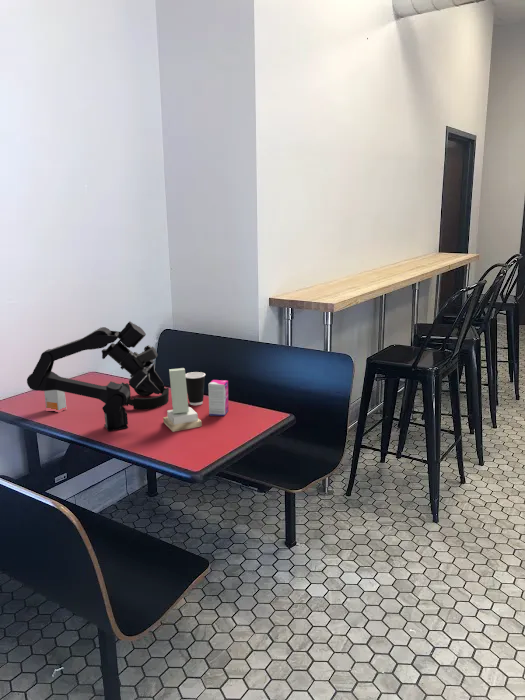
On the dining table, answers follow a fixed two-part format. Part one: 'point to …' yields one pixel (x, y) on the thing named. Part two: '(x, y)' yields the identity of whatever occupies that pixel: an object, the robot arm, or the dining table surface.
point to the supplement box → (218, 397)
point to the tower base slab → (182, 425)
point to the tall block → (178, 390)
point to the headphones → (148, 402)
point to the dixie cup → (195, 387)
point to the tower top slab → (182, 416)
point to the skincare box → (55, 399)
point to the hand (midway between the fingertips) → (161, 389)
